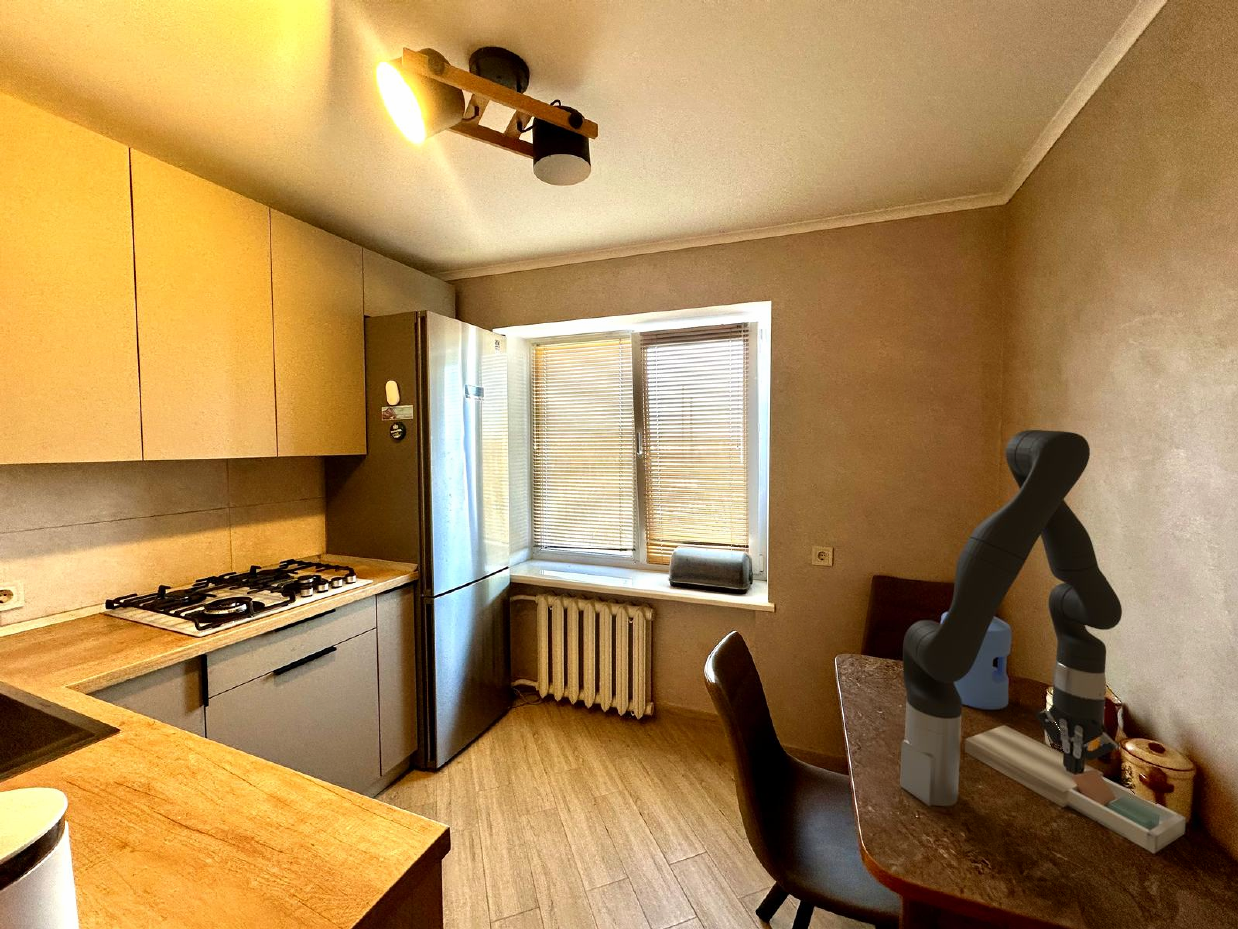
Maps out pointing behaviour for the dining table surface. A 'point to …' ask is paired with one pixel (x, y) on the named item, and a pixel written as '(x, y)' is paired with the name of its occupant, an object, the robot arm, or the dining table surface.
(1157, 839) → the box
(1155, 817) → the teal tile
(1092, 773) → the terracotta tile
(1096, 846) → the dining table surface
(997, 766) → the birch board
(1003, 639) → the water jug
